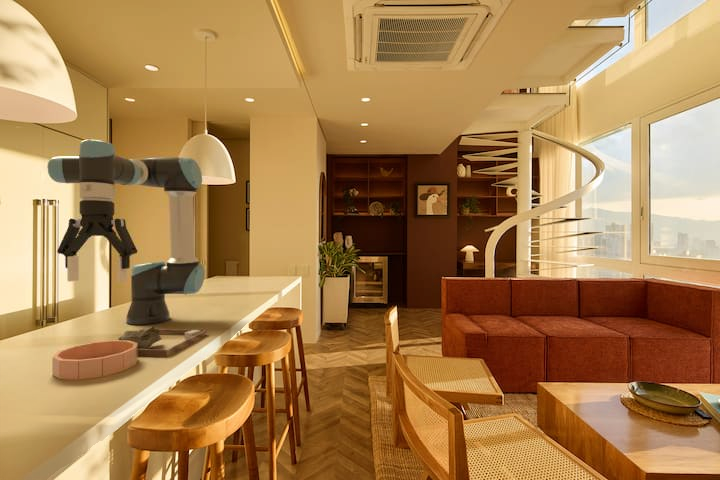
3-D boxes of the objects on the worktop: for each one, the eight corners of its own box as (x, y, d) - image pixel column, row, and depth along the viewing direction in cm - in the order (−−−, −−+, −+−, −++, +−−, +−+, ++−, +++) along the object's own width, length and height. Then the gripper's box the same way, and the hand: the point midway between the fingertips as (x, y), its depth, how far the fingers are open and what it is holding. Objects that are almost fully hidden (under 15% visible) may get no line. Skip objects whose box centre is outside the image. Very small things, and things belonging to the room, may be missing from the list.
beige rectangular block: (193, 336, 129) (193, 329, 129) (200, 337, 128) (200, 330, 128) (184, 339, 125) (184, 332, 125) (191, 340, 124) (191, 333, 124)
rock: (162, 335, 120) (162, 326, 112) (158, 354, 117) (157, 347, 109) (122, 333, 116) (118, 324, 108) (117, 352, 113) (113, 345, 105)
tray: (148, 334, 131) (148, 329, 131) (206, 335, 130) (206, 330, 130) (97, 354, 108) (97, 348, 108) (167, 356, 107) (167, 350, 107)
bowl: (92, 355, 108) (92, 339, 108) (151, 356, 106) (151, 341, 106) (34, 378, 90) (34, 359, 90) (104, 380, 89) (104, 361, 89)
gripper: (39, 199, 95) (39, 282, 95) (133, 198, 93) (133, 283, 94) (64, 202, 102) (65, 278, 103) (151, 201, 101) (151, 279, 101)
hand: (97, 281), depth 98 cm, fingers open, 13 cm apart
